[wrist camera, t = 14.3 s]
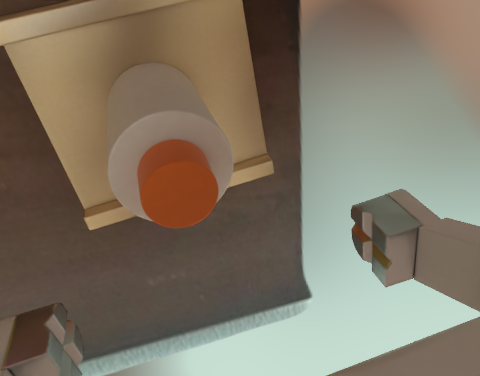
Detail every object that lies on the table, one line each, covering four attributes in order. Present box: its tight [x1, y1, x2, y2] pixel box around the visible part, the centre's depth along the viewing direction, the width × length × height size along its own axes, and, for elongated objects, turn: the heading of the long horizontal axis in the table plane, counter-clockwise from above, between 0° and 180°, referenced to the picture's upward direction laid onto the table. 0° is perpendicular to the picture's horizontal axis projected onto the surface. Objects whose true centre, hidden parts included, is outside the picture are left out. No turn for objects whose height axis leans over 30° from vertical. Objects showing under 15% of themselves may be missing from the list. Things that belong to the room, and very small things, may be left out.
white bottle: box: [107, 62, 233, 228], centre depth 18 cm, size 5×5×10 cm
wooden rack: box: [0, 0, 274, 230], centre depth 23 cm, size 12×12×2 cm
